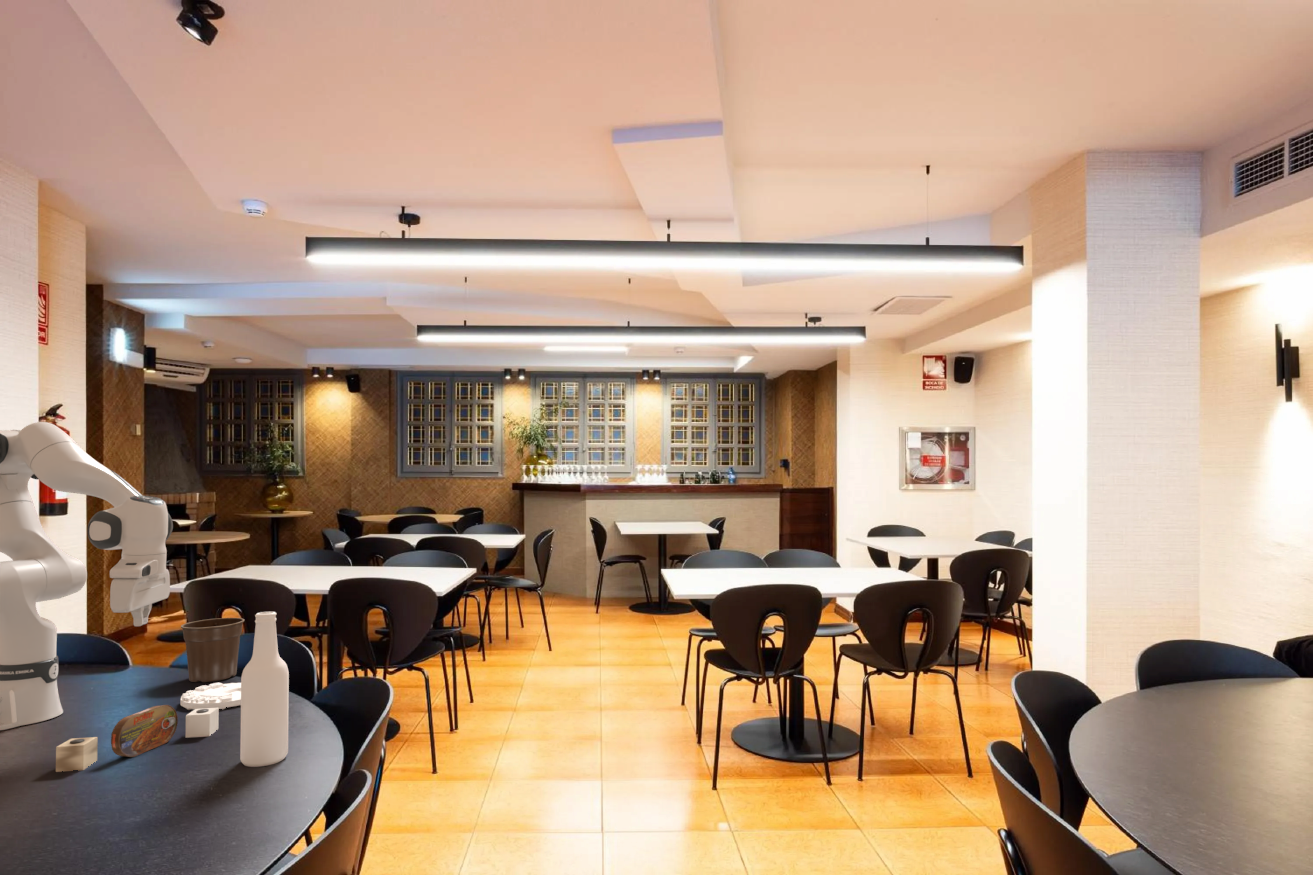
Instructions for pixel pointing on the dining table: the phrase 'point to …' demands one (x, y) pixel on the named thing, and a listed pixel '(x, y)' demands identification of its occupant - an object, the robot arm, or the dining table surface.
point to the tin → (144, 731)
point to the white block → (202, 722)
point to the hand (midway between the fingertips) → (140, 624)
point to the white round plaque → (212, 696)
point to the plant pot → (212, 648)
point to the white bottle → (264, 699)
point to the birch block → (76, 754)
